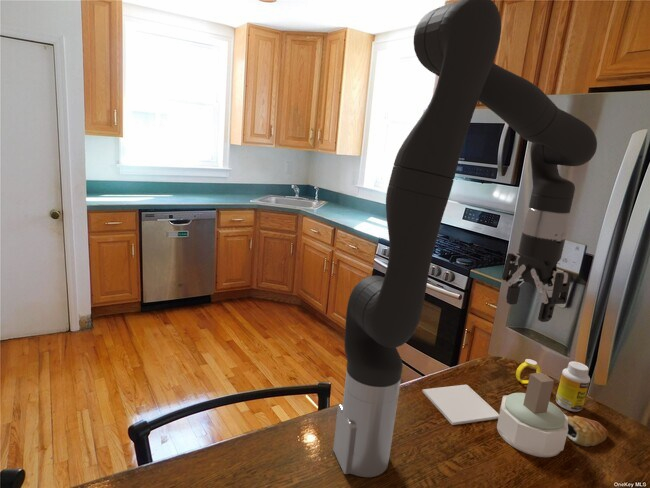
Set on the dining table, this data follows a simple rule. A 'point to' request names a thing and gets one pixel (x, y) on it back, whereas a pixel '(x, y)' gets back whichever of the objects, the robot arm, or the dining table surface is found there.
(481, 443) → the dining table surface
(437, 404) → the mat
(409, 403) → the dining table surface
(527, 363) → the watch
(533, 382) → the lid
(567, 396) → the supplement bottle
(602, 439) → the pastry
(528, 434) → the bowl
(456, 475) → the dining table surface
